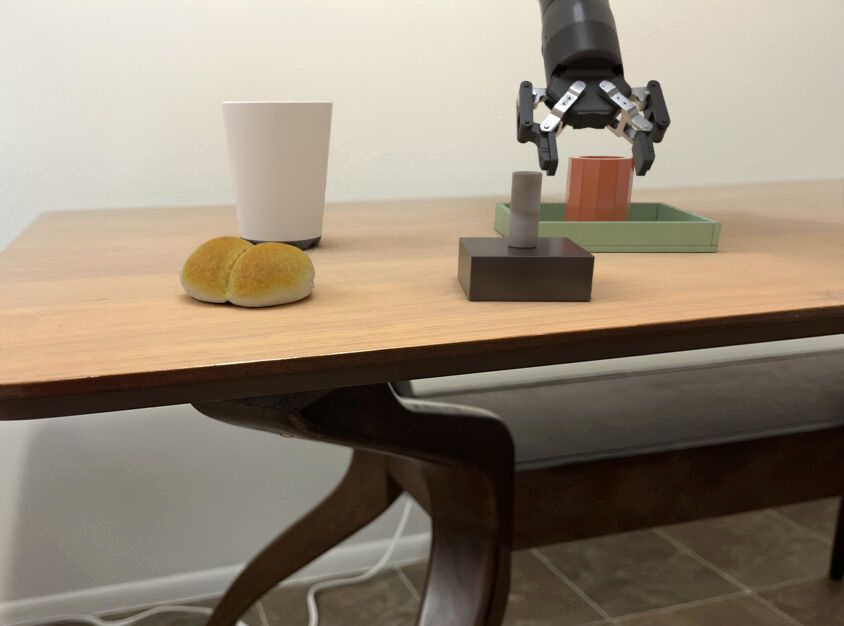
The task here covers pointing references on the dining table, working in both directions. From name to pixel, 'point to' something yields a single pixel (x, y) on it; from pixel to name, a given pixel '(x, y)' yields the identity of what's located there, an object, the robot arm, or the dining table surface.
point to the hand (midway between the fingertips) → (598, 170)
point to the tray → (627, 229)
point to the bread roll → (247, 273)
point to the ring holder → (525, 256)
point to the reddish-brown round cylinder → (599, 188)
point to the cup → (279, 168)
